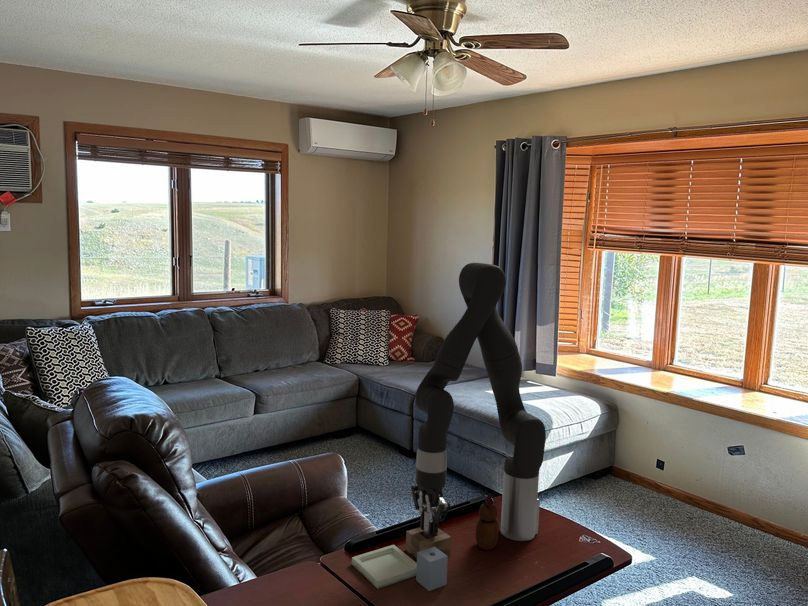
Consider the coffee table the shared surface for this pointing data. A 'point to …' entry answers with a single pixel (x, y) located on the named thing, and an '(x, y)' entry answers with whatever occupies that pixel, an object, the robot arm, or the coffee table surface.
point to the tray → (385, 566)
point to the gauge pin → (426, 525)
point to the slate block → (431, 568)
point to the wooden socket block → (427, 541)
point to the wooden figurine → (487, 525)
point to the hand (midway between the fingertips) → (428, 531)
